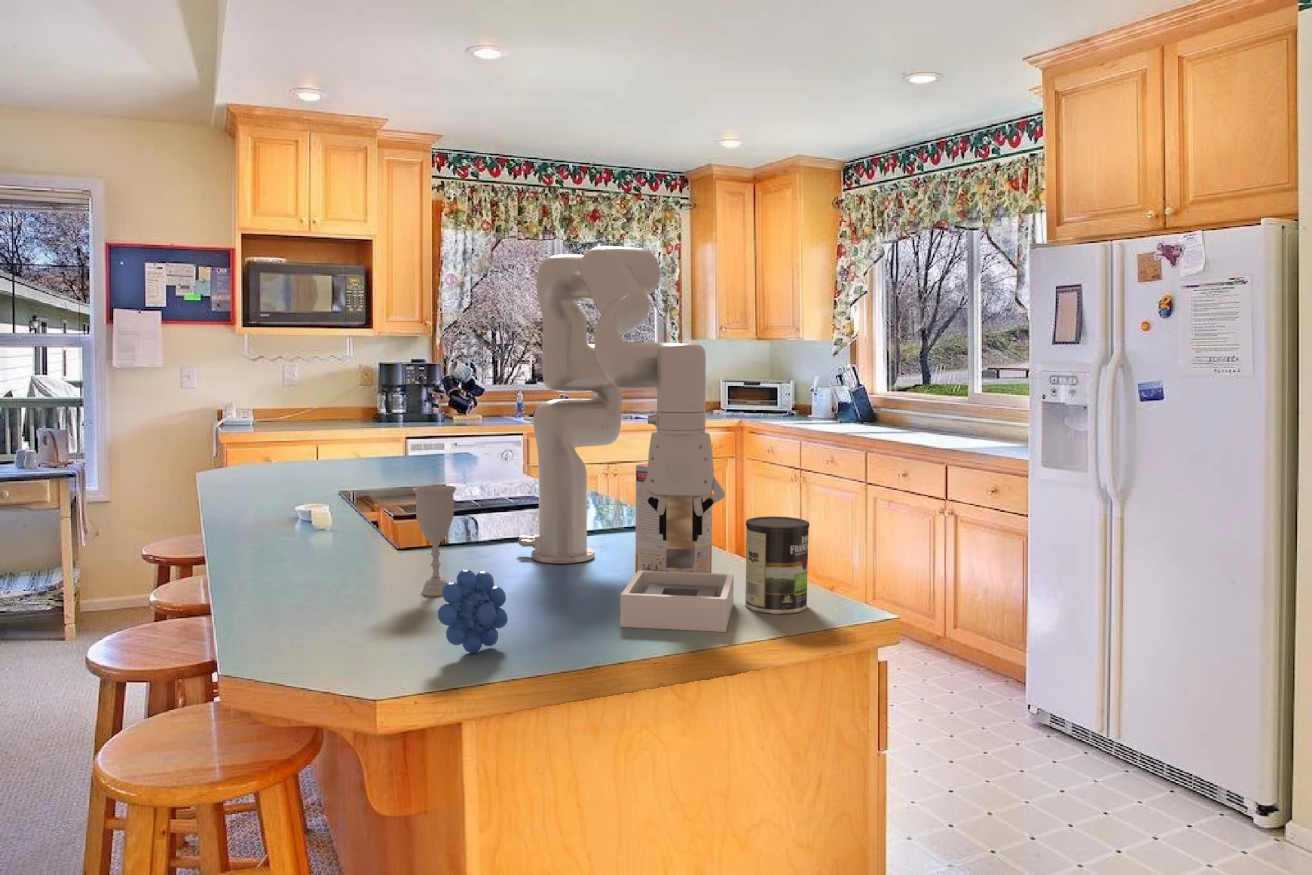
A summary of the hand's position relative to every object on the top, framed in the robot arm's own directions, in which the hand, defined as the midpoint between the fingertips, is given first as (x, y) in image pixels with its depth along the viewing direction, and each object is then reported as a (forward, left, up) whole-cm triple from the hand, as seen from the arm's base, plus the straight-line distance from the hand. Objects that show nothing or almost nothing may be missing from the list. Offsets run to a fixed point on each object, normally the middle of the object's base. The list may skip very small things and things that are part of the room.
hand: (680, 538), depth 154 cm
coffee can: (+15, +8, -13) cm, 21 cm away
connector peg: (0, 0, -4) cm, 4 cm away
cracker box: (-4, +23, -13) cm, 27 cm away
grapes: (-25, -24, -13) cm, 37 cm away
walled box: (0, 0, -12) cm, 12 cm away
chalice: (-43, +7, -13) cm, 46 cm away
